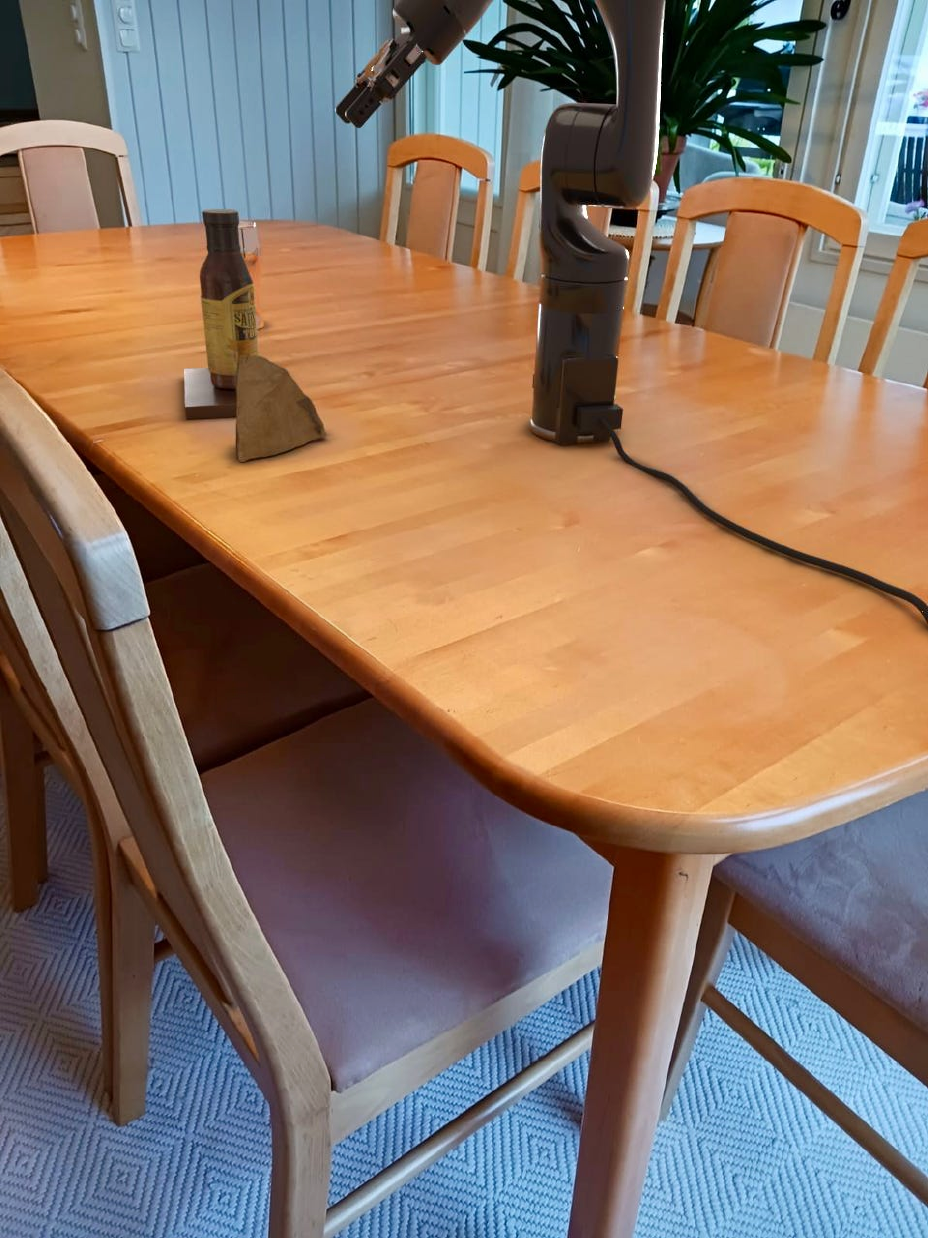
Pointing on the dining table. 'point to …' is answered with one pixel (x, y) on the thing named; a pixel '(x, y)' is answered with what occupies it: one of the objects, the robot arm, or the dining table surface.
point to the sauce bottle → (226, 299)
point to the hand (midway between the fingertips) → (345, 119)
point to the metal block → (207, 396)
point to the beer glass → (252, 259)
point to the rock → (271, 410)
